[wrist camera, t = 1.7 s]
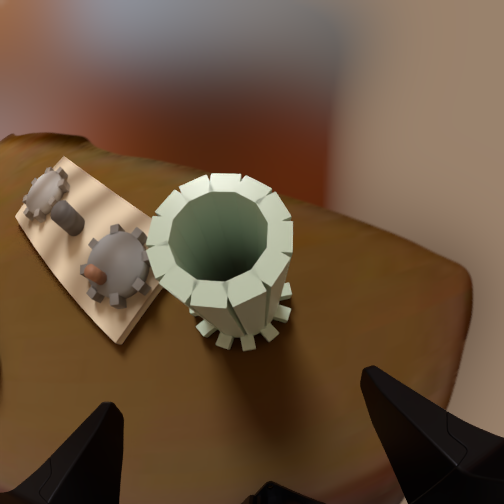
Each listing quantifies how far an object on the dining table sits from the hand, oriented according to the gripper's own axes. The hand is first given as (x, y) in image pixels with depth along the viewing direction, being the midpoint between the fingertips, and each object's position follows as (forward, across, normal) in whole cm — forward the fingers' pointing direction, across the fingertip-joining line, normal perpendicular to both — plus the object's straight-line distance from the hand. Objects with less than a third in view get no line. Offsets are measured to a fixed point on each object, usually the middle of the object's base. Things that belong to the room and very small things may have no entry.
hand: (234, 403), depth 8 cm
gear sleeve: (+14, 0, +5) cm, 15 cm away
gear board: (+21, +16, -2) cm, 27 cm away
